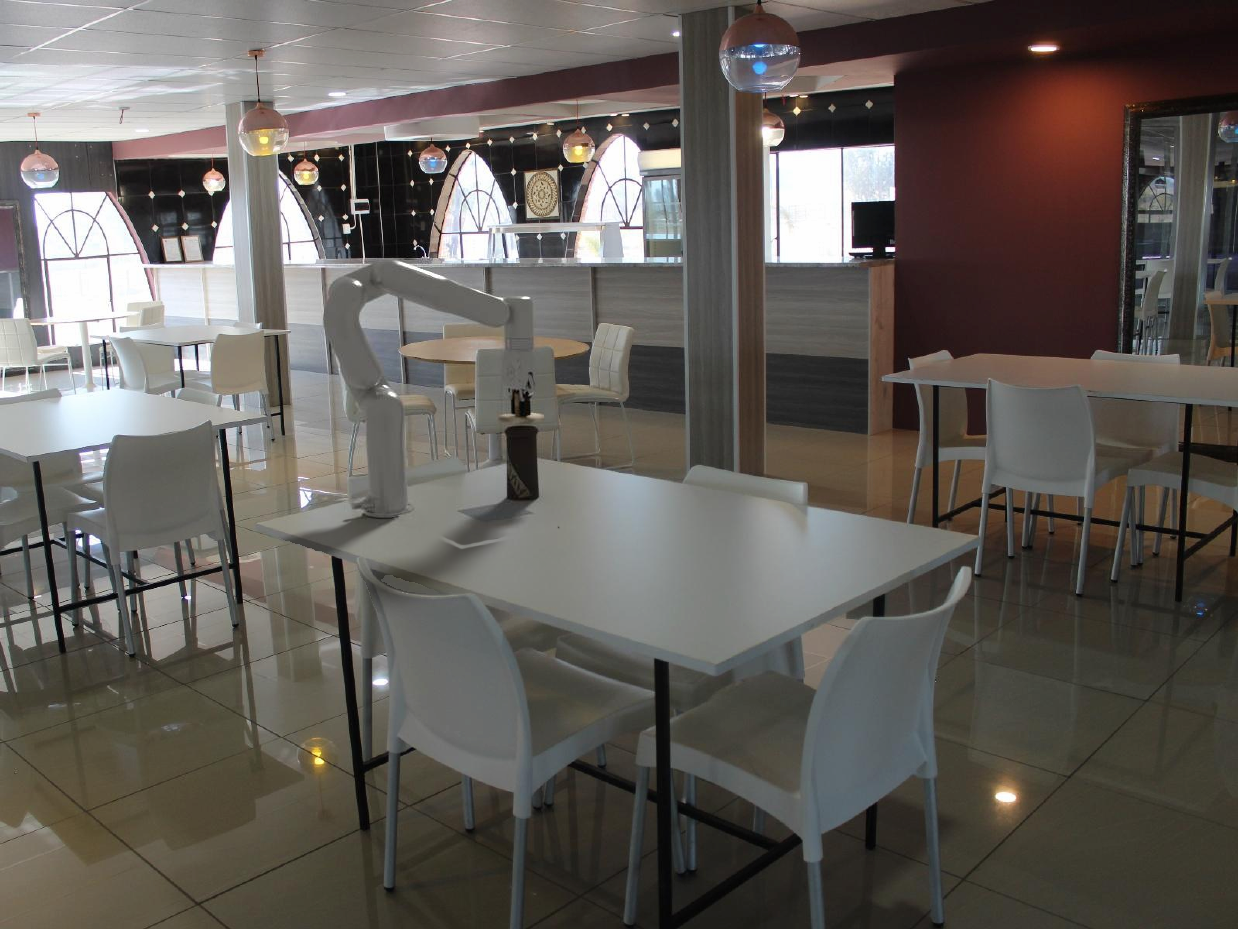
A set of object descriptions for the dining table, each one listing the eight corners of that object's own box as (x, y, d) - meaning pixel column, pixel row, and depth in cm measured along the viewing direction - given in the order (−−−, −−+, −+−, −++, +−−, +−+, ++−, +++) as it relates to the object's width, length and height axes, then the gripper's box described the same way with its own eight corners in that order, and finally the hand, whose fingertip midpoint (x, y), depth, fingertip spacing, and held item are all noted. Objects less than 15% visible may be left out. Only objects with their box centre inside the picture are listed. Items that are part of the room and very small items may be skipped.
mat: (485, 525, 269) (485, 521, 269) (457, 513, 280) (457, 510, 280) (533, 515, 277) (533, 512, 277) (504, 505, 288) (504, 502, 288)
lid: (514, 425, 281) (513, 398, 280) (489, 419, 291) (488, 393, 289) (553, 420, 288) (552, 394, 287) (527, 414, 298) (527, 389, 296)
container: (502, 498, 296) (499, 424, 292) (533, 494, 300) (531, 422, 295) (512, 505, 288) (510, 429, 284) (545, 501, 292) (543, 427, 288)
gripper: (490, 343, 290) (492, 412, 293) (523, 348, 277) (525, 420, 281) (514, 341, 294) (516, 409, 298) (548, 346, 281) (550, 417, 285)
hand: (520, 414), depth 289 cm, fingers closed on lid, 3 cm apart
